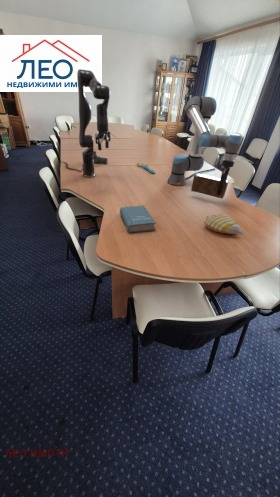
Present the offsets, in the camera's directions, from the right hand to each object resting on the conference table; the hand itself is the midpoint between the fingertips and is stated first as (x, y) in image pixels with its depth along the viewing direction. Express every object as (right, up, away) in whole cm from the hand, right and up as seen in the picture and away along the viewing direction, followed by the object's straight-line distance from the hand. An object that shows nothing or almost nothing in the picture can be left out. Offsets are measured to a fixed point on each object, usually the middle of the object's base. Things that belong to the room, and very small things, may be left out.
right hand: (219, 192), depth 162 cm
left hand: (-84, +29, -6) cm, 89 cm away
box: (-8, +1, +5) cm, 9 cm away
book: (-61, -24, -24) cm, 70 cm away
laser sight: (-104, +49, +71) cm, 136 cm away
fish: (-8, -30, -26) cm, 40 cm away
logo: (-52, +42, +66) cm, 93 cm away
